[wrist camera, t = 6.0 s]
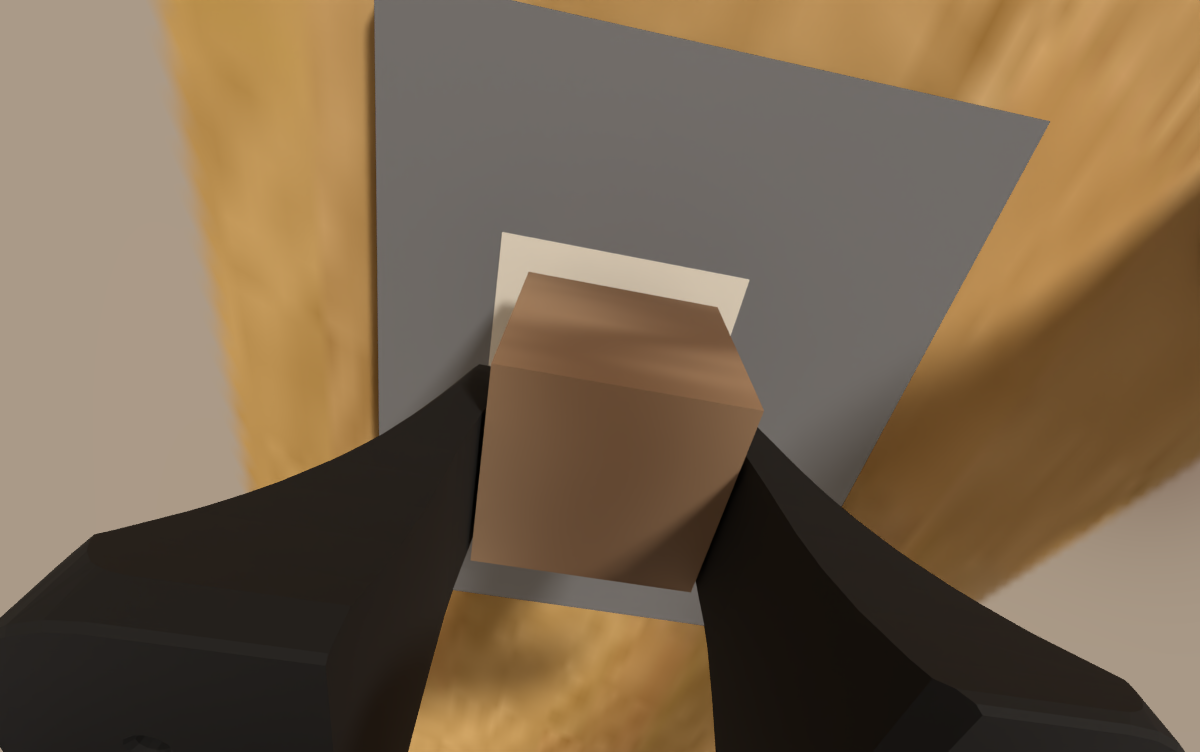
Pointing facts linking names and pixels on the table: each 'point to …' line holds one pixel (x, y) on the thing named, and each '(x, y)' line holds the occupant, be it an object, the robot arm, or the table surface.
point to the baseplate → (671, 220)
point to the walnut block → (610, 434)
